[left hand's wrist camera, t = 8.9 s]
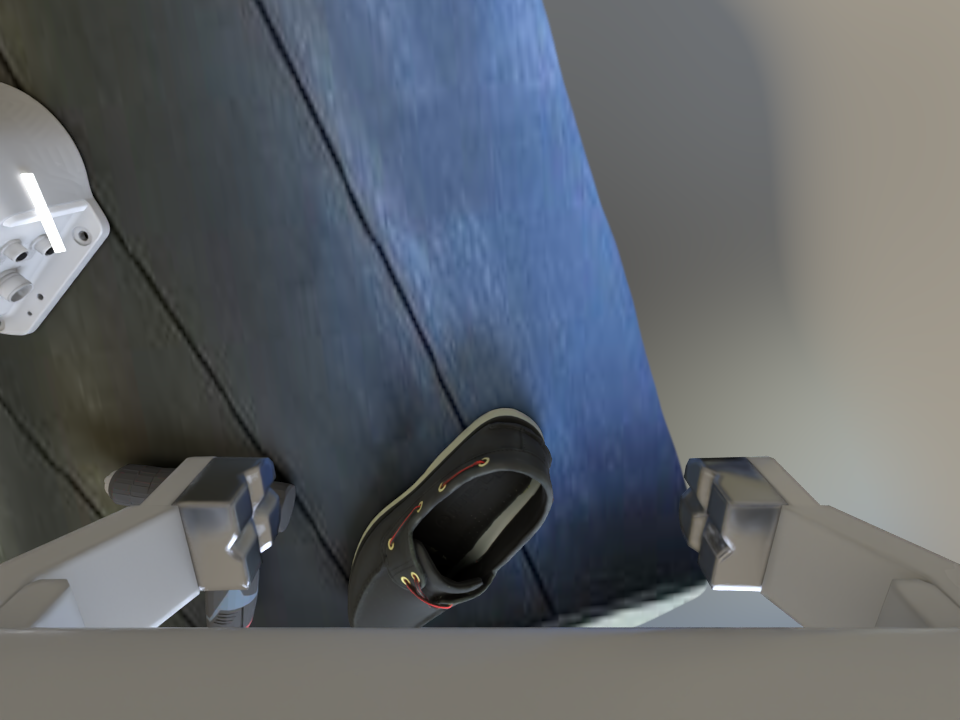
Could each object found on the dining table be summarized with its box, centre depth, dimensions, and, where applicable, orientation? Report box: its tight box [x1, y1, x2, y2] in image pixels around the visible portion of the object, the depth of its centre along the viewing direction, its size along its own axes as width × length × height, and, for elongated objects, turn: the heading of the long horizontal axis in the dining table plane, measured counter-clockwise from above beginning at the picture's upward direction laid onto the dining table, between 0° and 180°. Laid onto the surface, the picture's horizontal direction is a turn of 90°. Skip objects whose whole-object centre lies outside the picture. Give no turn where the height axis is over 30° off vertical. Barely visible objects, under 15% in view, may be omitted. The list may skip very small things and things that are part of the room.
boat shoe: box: [348, 408, 554, 628], centre depth 54 cm, size 13×33×10 cm, turn 137°
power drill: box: [104, 464, 295, 628], centre depth 57 cm, size 5×19×20 cm
